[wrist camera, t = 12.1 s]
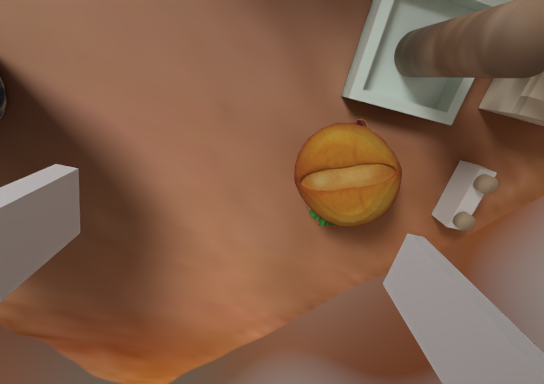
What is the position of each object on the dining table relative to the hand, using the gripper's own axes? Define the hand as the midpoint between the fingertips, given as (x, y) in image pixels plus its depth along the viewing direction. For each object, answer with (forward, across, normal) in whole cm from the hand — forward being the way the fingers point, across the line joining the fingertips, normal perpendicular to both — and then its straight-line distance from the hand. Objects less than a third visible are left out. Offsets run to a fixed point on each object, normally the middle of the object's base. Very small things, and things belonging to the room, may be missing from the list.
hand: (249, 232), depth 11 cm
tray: (+19, +13, +11) cm, 25 cm away
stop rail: (+19, +24, -1) cm, 30 cm away
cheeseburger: (+19, +10, -1) cm, 21 cm away
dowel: (+18, +13, +11) cm, 25 cm away
